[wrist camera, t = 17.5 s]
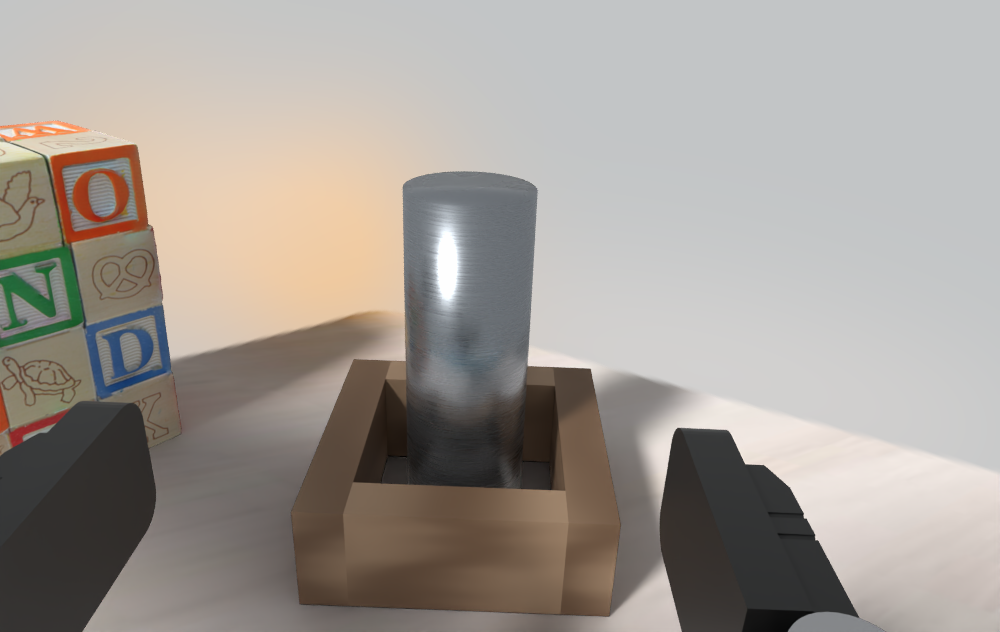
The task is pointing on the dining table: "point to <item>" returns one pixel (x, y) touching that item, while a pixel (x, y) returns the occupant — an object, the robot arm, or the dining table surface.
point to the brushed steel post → (467, 326)
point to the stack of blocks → (78, 283)
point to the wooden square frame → (458, 510)
